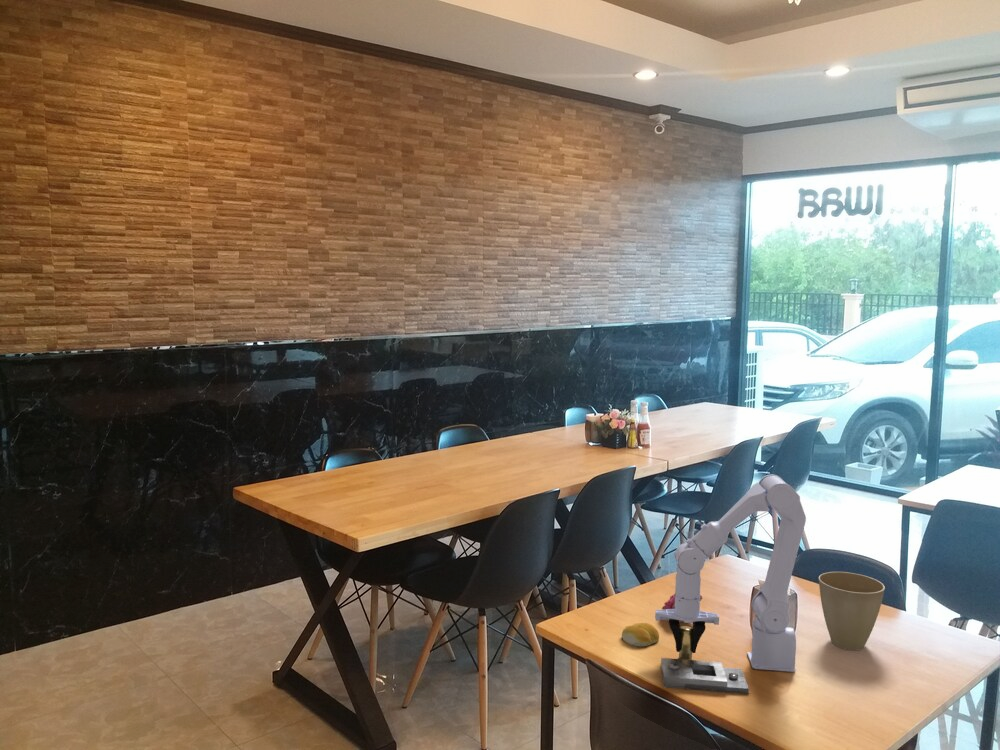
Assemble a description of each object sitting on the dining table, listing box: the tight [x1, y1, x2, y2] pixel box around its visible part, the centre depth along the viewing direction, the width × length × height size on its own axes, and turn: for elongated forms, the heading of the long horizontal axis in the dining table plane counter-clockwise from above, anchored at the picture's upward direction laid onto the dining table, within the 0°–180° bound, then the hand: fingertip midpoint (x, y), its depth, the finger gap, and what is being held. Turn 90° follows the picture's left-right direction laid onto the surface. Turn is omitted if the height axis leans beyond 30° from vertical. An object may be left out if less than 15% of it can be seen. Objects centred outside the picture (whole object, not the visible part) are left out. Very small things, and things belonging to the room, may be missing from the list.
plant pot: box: [818, 571, 886, 651], centre depth 190 cm, size 15×15×16 cm
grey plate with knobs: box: [660, 657, 750, 695], centre depth 171 cm, size 18×9×3 cm, turn 82°
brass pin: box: [678, 625, 693, 660], centre depth 181 cm, size 3×3×7 cm
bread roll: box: [621, 622, 660, 647], centre depth 192 cm, size 8×9×4 cm
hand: (685, 650), depth 181 cm, fingers closed on brass pin, 3 cm apart
